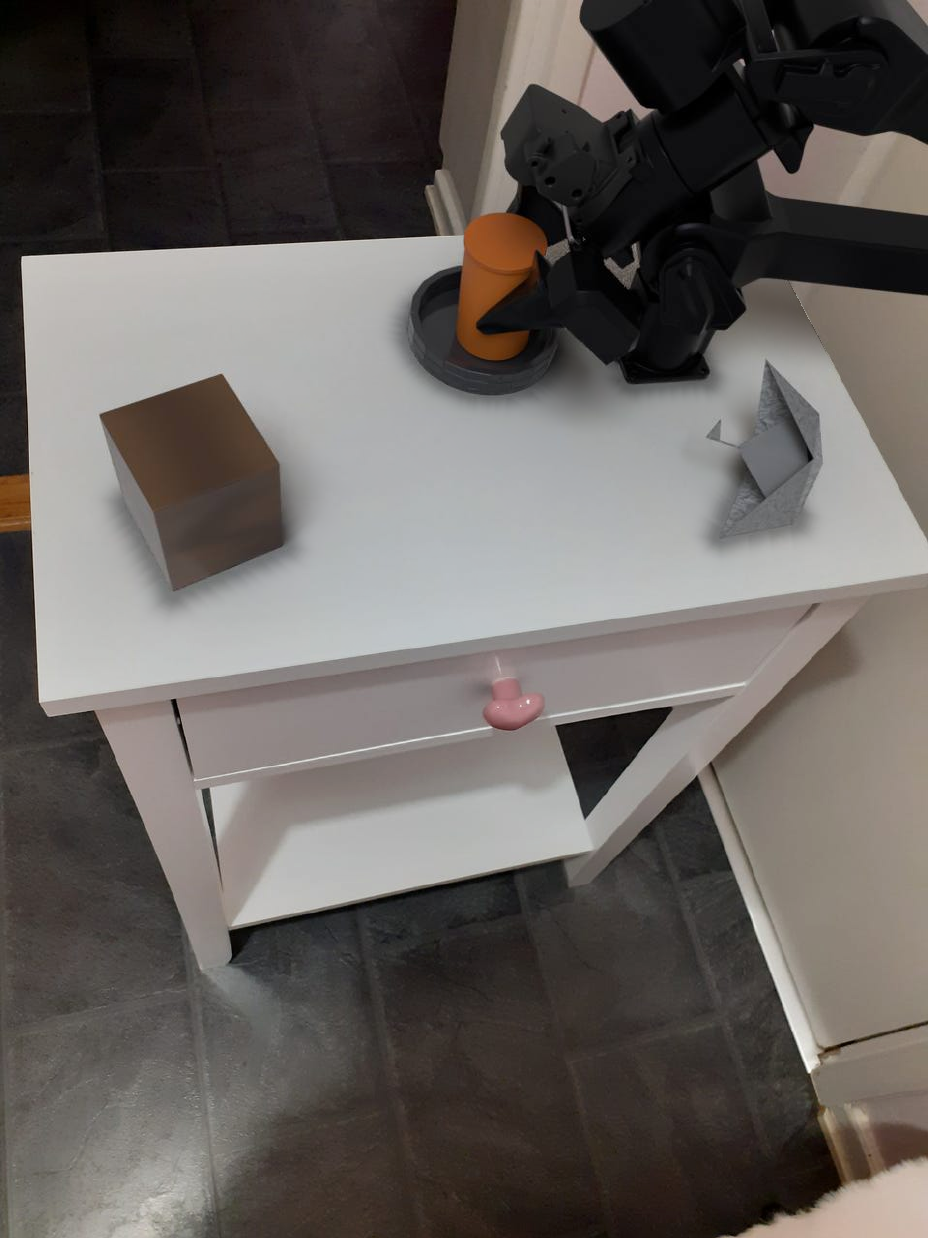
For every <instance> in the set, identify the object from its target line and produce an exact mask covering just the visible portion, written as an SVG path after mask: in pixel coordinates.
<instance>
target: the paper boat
mask: <svg viewBox="0 0 928 1238" xmlns="http://www.w3.org/2000/svg"><path fill="white" fill-rule="evenodd" d="M760 388H761V389H760V394H759V402H758V407H757V414H756V415H757V416H756V422H755V427H754V428H755V429H754V435H753V437H751V438H749V439H748V440H746V441H744V442H742V443H740V444H738V445H736V444H733V443H730V442H727V441H723V440H721V431H722V419H719V420H718V422H717V423H716V424H715V425H714V426H713V428H712V429H711V430H710V431H709V432H708V434H707V435H706V436H705V437H706V438H707V439H709V440H712V441H716V442H718V443H720V444H723V445H727V446H731V447H734V448H736V449H737V450H738V453H740V455H741V457H742V459H743V461H744V462H745V464H746V466H747V470H746V472H745V475H744V478H743V480H742V481H741V485H740V486H739V490H738V491H737V495H736V496H735V499H734V502H733V504H732V507H731V509H730V511H729V514H728V517H727V519H726V521H725V524H724V526H723V528H722V530H721V533H720V535H719V539H722V538H728V537H732V536H739V535H744V534H748V533H754V532H759V531H765V530H769V529H773V528H781V527H785V526H790V525H793V524H794V522H795V521H796V519H797V518H798V516H799V515H800V513H801V511H802V509H803V508H804V505H805V504H806V501H807V499H808V497H809V495H810V492H811V491H812V489H813V486H814V483H815V481H816V480H817V477H818V475H819V473H820V471H821V469H822V466H823V464H824V462H823V460H824V459H823V447H822V445H823V444H822V430H821V417H820V413H819V412H818V411H817V410H816V409H815V408H814V406H812V405H811V404H810V403H809V402H808V401H807V400H806V399H805V397H803V396H802V394H801V393H799V391H798V390H797V389H796V388H795V387H794V386H793V385H792V384H791V383H790V381H788V380H787V379H786V378H785V377H784V376H783V375H782V374H781V372H780V371H778V369H776V368H775V367H774V366H773V364H771V362H769V360H768V359H765V360H764V367H763V374H762V381H761V387H760Z"/></svg>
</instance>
